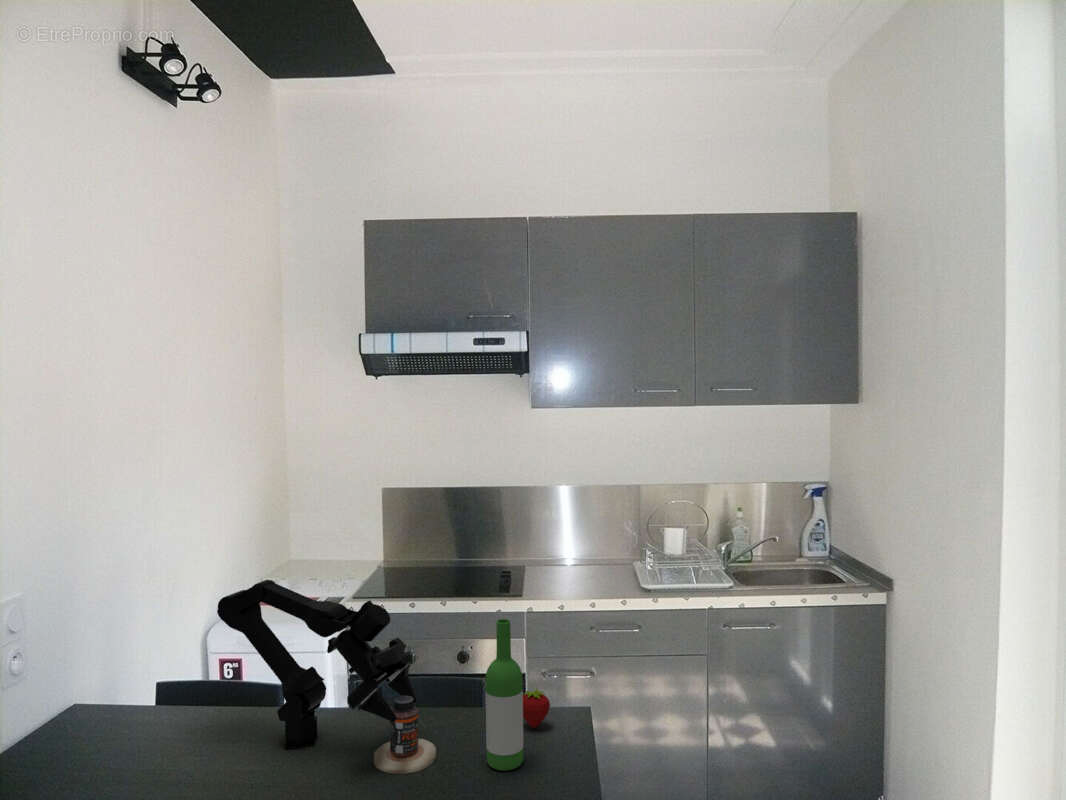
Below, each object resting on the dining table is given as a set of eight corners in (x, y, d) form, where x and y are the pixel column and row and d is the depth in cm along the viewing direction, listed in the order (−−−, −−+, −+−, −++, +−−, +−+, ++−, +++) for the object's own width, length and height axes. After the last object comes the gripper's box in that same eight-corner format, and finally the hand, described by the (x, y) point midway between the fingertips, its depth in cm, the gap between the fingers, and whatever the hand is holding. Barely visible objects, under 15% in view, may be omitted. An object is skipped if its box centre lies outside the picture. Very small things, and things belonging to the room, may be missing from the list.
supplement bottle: (404, 761, 153) (403, 707, 153) (384, 753, 156) (383, 700, 156) (424, 750, 158) (423, 697, 157) (404, 742, 161) (403, 691, 161)
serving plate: (375, 777, 149) (375, 771, 149) (372, 747, 162) (372, 741, 162) (439, 768, 152) (439, 762, 152) (432, 739, 165) (431, 734, 165)
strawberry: (519, 721, 174) (518, 679, 173) (551, 722, 173) (550, 679, 173) (516, 733, 168) (515, 689, 168) (549, 734, 167) (548, 690, 167)
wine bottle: (489, 774, 150) (487, 627, 149) (484, 756, 157) (482, 616, 157) (526, 770, 151) (525, 625, 151) (519, 752, 159) (518, 613, 158)
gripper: (359, 645, 149) (409, 706, 146) (402, 617, 167) (447, 671, 164) (326, 679, 152) (374, 740, 148) (372, 648, 169) (416, 702, 166)
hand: (405, 711), depth 157 cm, fingers open, 9 cm apart
